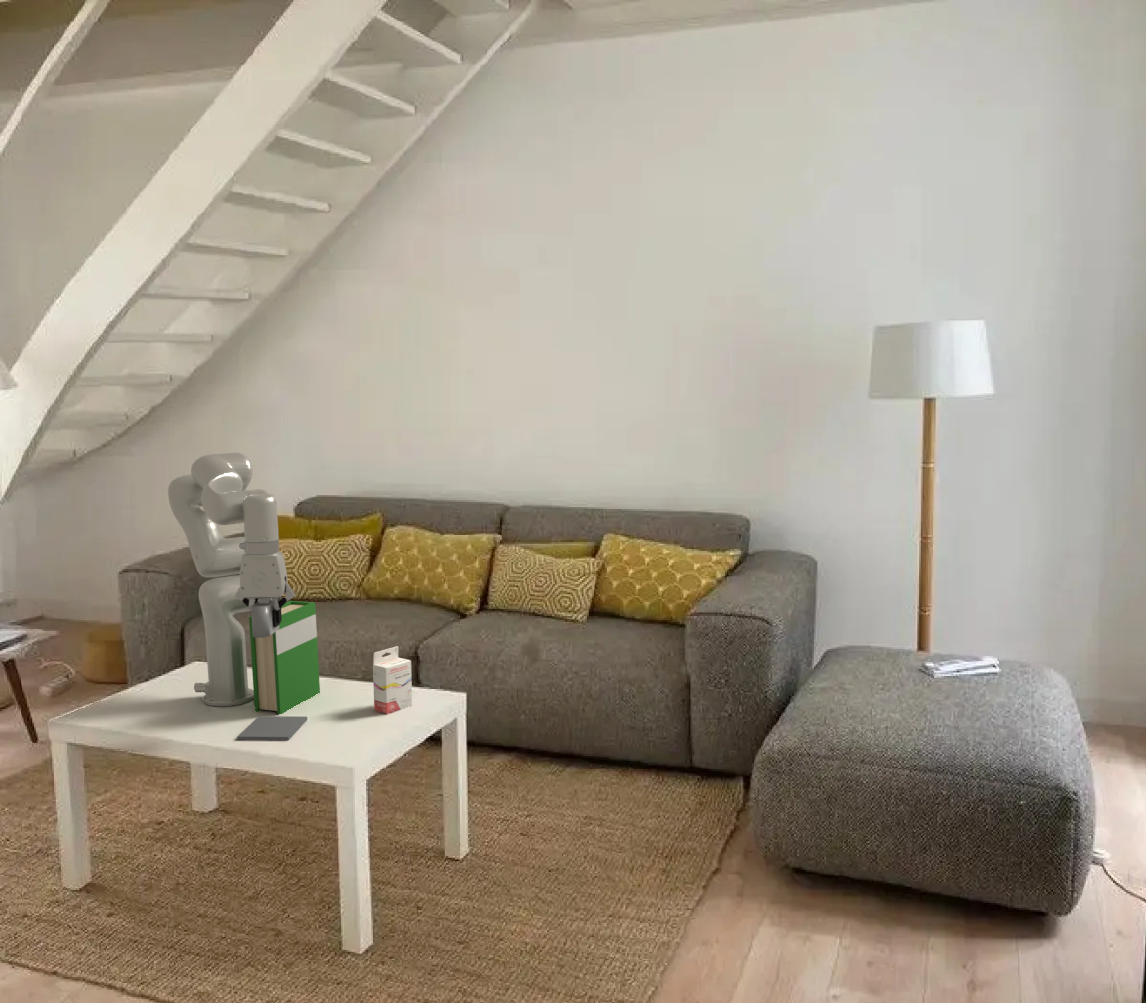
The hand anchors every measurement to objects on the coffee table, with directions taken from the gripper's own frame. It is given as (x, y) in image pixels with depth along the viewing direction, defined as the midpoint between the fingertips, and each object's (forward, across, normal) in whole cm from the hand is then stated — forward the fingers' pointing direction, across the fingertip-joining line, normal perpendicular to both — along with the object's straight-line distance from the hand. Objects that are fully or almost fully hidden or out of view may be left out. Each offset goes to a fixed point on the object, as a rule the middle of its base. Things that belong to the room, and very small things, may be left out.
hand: (266, 624), depth 265 cm
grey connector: (+2, 0, -1) cm, 2 cm away
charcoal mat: (+25, 0, 0) cm, 25 cm away
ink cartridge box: (+25, +25, +16) cm, 39 cm away
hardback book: (+25, -3, +20) cm, 33 cm away
